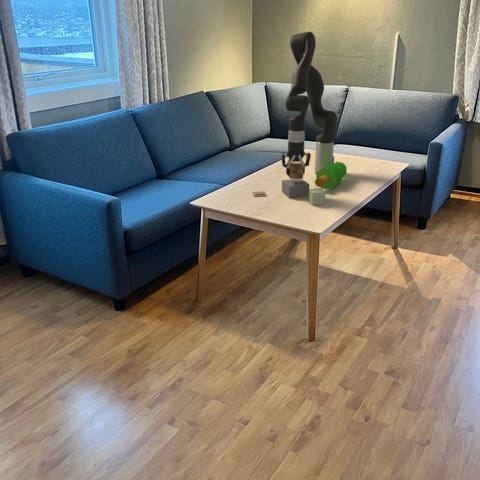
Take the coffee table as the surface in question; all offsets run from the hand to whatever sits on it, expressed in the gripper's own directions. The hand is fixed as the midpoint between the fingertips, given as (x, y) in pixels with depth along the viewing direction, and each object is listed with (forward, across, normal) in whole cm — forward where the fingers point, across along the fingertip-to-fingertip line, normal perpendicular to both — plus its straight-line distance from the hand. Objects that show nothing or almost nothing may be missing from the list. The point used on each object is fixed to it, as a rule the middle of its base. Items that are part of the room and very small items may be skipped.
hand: (295, 175), depth 249 cm
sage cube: (+9, -7, +14) cm, 18 cm away
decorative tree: (+9, -22, -11) cm, 27 cm away
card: (+9, +17, -2) cm, 19 cm away
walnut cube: (+1, 0, 0) cm, 1 cm away
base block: (+10, 0, 0) cm, 10 cm away
